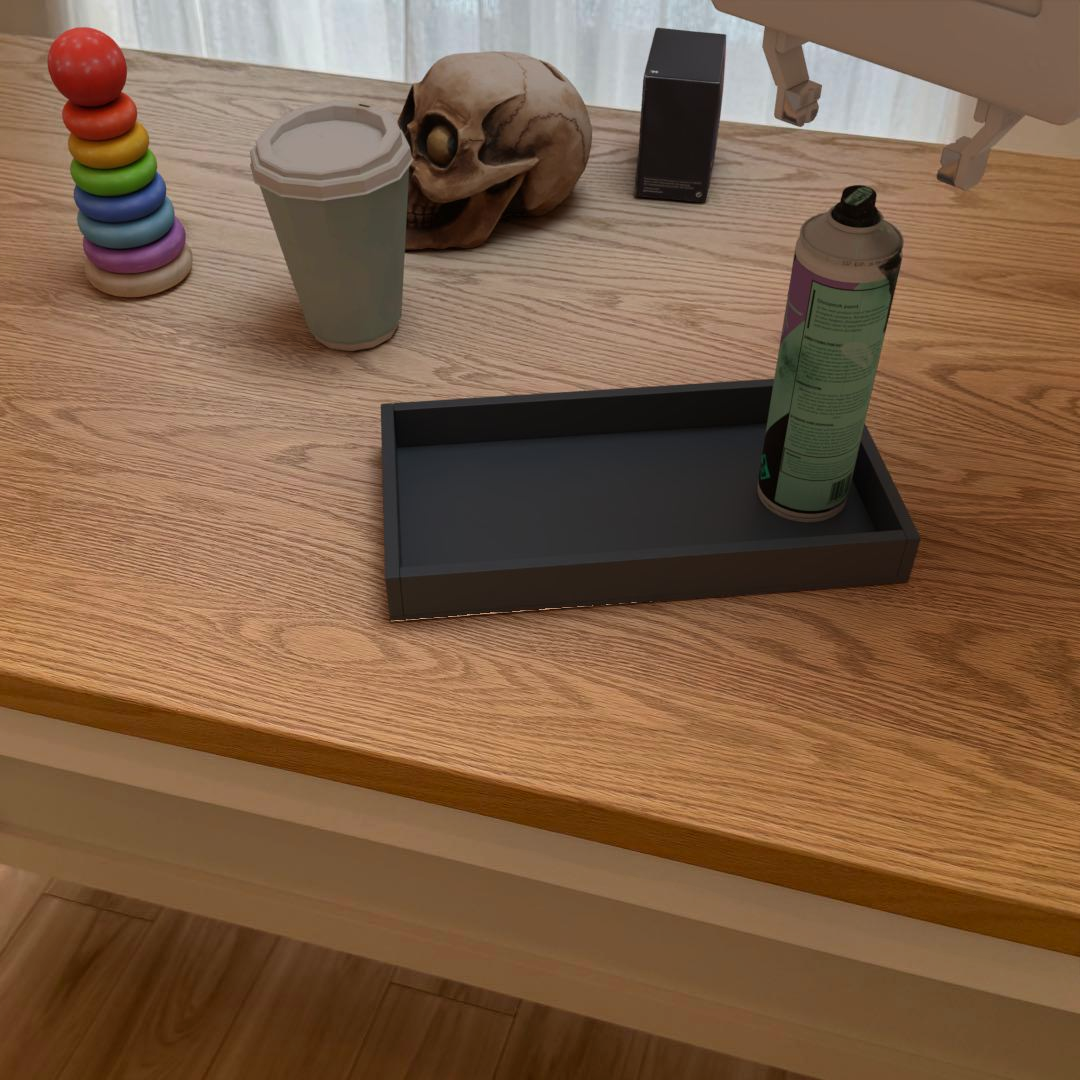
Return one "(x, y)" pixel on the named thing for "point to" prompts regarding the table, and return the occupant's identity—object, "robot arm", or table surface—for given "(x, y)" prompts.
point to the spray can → (828, 356)
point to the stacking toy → (115, 172)
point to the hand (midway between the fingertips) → (873, 150)
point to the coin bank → (489, 145)
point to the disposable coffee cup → (339, 215)
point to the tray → (612, 504)
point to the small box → (680, 114)
